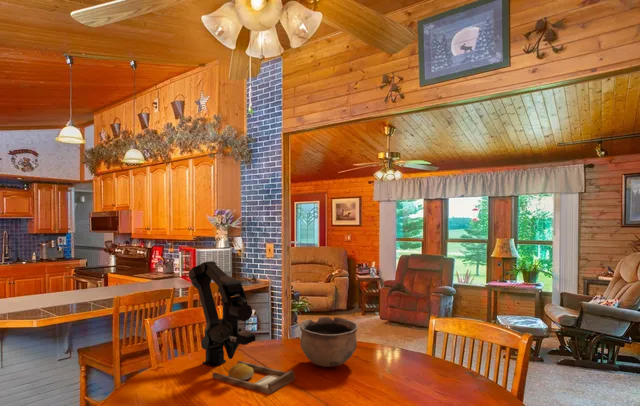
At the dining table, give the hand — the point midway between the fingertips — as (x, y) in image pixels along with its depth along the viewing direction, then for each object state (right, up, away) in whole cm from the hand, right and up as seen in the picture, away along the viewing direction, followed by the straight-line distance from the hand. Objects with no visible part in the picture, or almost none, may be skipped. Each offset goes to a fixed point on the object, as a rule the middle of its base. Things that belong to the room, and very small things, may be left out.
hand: (230, 358), depth 151 cm
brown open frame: (+9, -5, -5) cm, 12 cm away
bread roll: (+8, -6, -5) cm, 11 cm away
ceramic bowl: (+36, -5, +9) cm, 37 cm away
